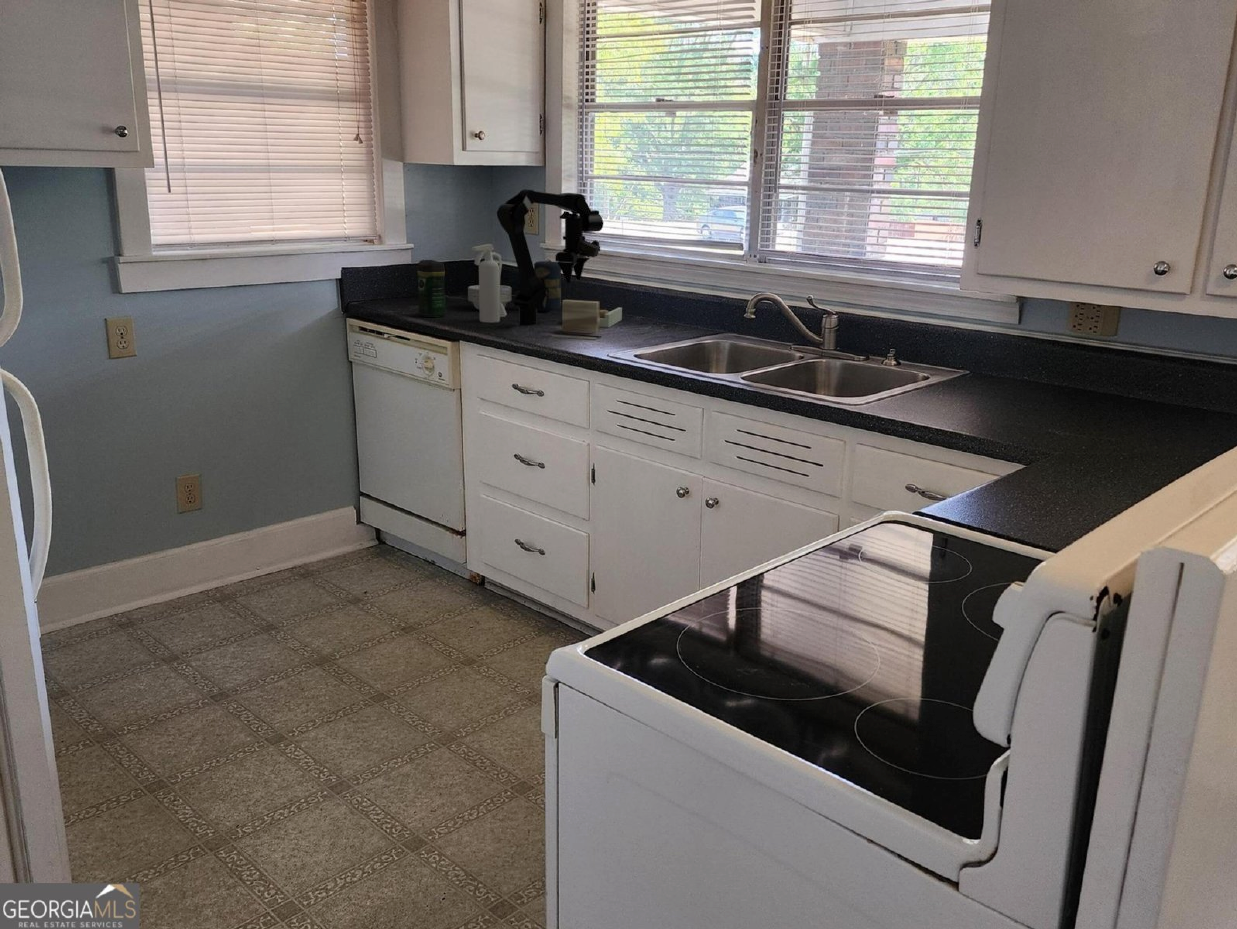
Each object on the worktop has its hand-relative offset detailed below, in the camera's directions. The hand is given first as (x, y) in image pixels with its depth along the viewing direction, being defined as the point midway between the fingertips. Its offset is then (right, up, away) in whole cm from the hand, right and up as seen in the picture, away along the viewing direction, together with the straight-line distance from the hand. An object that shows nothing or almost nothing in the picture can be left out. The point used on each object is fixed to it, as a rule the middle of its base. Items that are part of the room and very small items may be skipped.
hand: (573, 281), depth 348 cm
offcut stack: (+5, -15, -6) cm, 17 cm away
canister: (-10, -6, +25) cm, 28 cm away
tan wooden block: (+3, -20, -20) cm, 28 cm away
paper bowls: (-31, -6, +26) cm, 41 cm away
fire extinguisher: (-27, -13, +1) cm, 30 cm away
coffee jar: (-48, -10, +8) cm, 50 cm away
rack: (+6, -15, -2) cm, 16 cm away
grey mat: (+3, -20, -20) cm, 29 cm away
